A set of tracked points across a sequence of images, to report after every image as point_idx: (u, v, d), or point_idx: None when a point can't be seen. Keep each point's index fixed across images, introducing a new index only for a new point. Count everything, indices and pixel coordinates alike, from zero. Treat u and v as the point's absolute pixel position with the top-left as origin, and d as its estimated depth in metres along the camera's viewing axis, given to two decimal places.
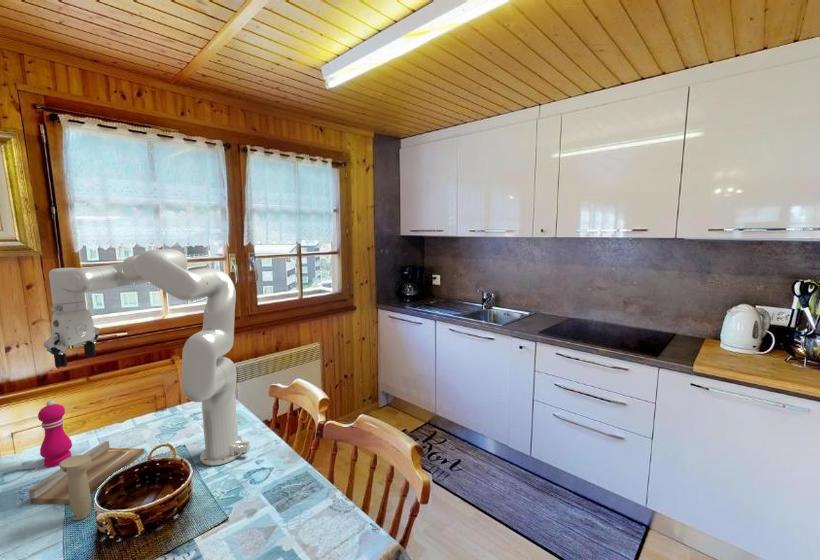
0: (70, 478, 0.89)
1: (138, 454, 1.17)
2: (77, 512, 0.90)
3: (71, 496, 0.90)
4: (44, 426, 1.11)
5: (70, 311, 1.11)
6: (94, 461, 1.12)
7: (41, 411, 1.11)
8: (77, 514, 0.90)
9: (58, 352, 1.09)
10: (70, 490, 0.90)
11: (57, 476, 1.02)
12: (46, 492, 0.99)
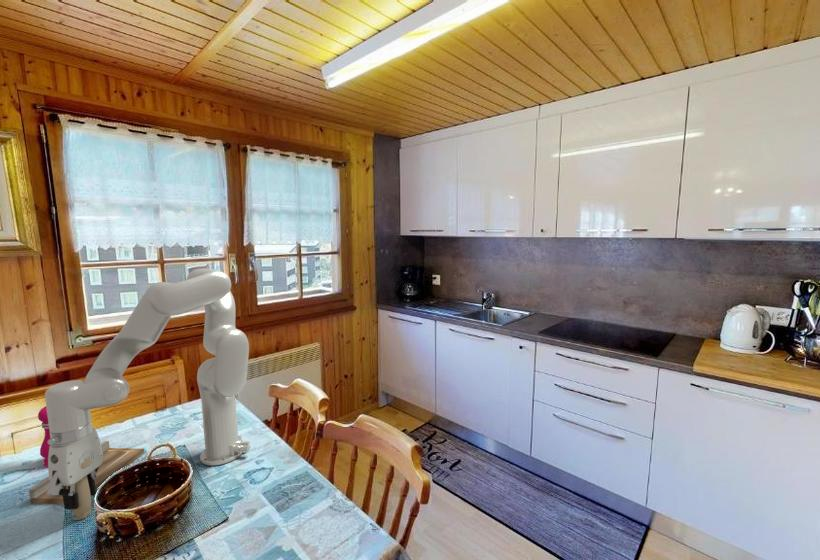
0: None
1: (138, 454, 1.17)
2: (77, 512, 0.90)
3: None
4: (44, 426, 1.11)
5: (72, 441, 0.87)
6: None
7: (41, 411, 1.11)
8: (77, 514, 0.90)
9: (68, 495, 0.88)
10: None
11: None
12: (46, 492, 0.99)
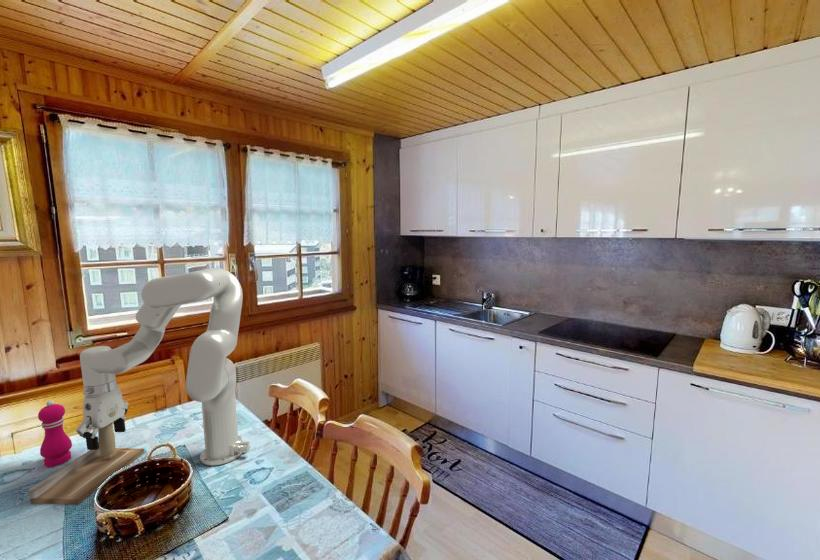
0: None
1: (138, 454, 1.17)
2: (105, 453, 1.12)
3: (100, 440, 1.12)
4: (44, 426, 1.11)
5: (101, 393, 1.09)
6: (94, 461, 1.12)
7: (41, 411, 1.11)
8: (105, 454, 1.13)
9: (90, 436, 1.07)
10: (99, 435, 1.12)
11: (57, 476, 1.02)
12: (46, 492, 0.99)
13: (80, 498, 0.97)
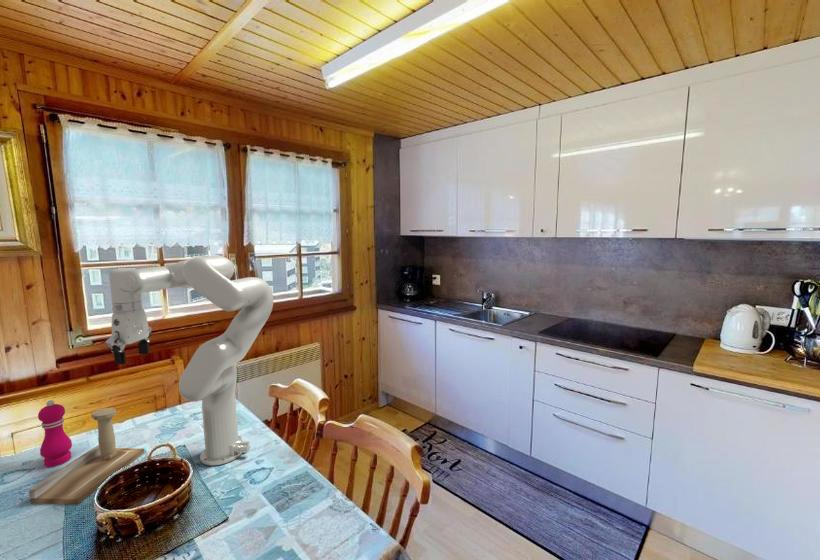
0: (99, 425, 1.11)
1: (138, 454, 1.17)
2: (105, 453, 1.12)
3: (100, 440, 1.12)
4: (44, 426, 1.11)
5: (129, 310, 1.15)
6: (94, 461, 1.12)
7: (41, 411, 1.11)
8: (105, 454, 1.13)
9: (118, 350, 1.13)
10: (99, 435, 1.12)
11: (57, 476, 1.02)
12: (46, 492, 0.99)
13: (80, 498, 0.97)
